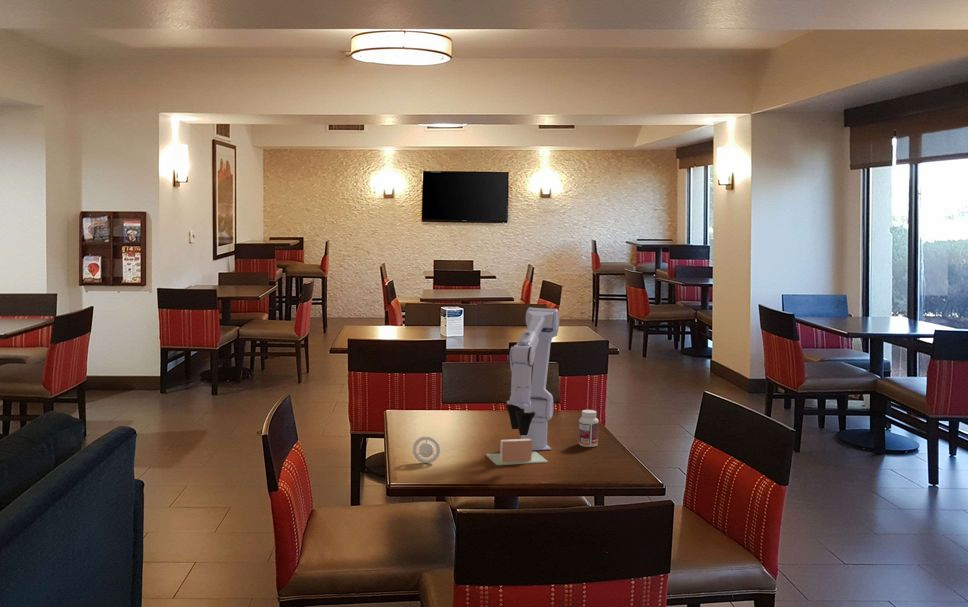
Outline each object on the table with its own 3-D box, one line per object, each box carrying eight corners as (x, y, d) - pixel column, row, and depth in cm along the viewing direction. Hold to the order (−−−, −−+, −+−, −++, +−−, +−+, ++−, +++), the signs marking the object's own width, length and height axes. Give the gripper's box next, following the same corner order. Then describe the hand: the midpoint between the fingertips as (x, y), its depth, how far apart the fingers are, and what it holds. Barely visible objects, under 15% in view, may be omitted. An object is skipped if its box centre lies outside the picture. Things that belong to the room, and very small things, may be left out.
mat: (485, 455, 273) (485, 453, 273) (535, 452, 277) (535, 451, 277) (496, 465, 262) (496, 463, 262) (547, 462, 267) (547, 461, 267)
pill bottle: (594, 442, 292) (595, 409, 291) (600, 447, 286) (601, 413, 285) (576, 442, 291) (577, 409, 290) (581, 447, 285) (582, 413, 284)
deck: (499, 459, 267) (500, 439, 266) (528, 458, 269) (529, 438, 269) (502, 461, 264) (503, 441, 264) (531, 460, 267) (531, 440, 266)
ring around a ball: (440, 462, 264) (441, 435, 263) (438, 467, 258) (438, 440, 257) (413, 460, 264) (413, 434, 263) (410, 466, 259) (411, 439, 258)
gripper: (500, 381, 268) (499, 426, 269) (515, 391, 254) (513, 438, 255) (523, 381, 270) (521, 425, 271) (539, 390, 256) (537, 437, 257)
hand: (519, 431), depth 263 cm, fingers open, 7 cm apart
